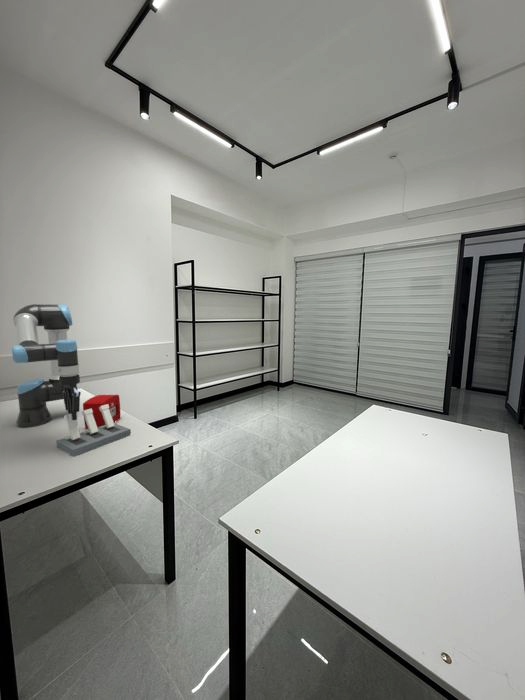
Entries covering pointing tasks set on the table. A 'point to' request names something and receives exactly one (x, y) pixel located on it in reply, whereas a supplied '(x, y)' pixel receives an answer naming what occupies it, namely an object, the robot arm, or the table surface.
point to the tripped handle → (72, 429)
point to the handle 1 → (90, 421)
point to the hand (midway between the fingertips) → (73, 426)
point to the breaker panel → (92, 439)
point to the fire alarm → (99, 401)
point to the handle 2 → (107, 416)
